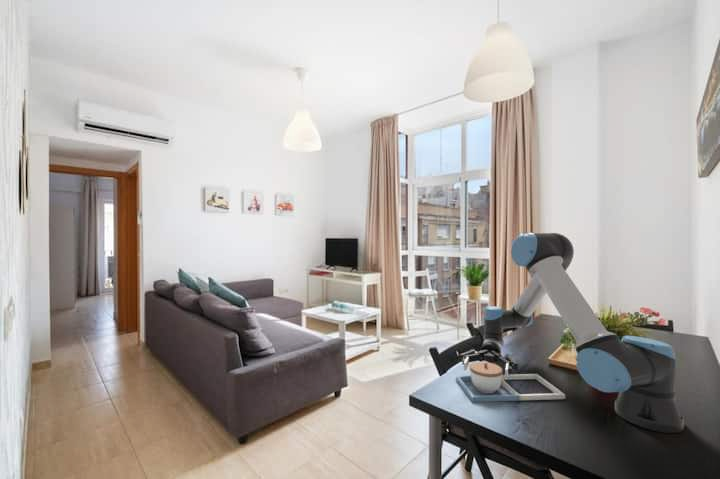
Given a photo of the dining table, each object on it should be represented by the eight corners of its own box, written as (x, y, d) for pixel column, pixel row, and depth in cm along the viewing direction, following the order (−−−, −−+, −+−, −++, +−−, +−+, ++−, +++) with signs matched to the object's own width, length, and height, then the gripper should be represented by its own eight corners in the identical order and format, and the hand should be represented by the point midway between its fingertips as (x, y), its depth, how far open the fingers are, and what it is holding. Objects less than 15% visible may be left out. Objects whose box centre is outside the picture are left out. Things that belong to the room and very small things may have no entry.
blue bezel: (519, 400, 105) (519, 395, 105) (472, 401, 105) (472, 397, 105) (496, 378, 121) (496, 374, 121) (456, 379, 121) (456, 375, 121)
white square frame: (565, 399, 106) (565, 394, 106) (517, 400, 105) (517, 395, 105) (536, 377, 122) (536, 373, 122) (495, 378, 121) (495, 374, 121)
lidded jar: (500, 384, 117) (499, 358, 117) (504, 398, 107) (504, 370, 107) (469, 381, 120) (468, 355, 120) (470, 394, 110) (470, 367, 109)
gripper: (525, 365, 125) (525, 388, 106) (459, 354, 137) (448, 374, 118) (525, 345, 125) (525, 365, 106) (459, 337, 137) (448, 353, 118)
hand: (485, 370), depth 112 cm, fingers open, 13 cm apart
